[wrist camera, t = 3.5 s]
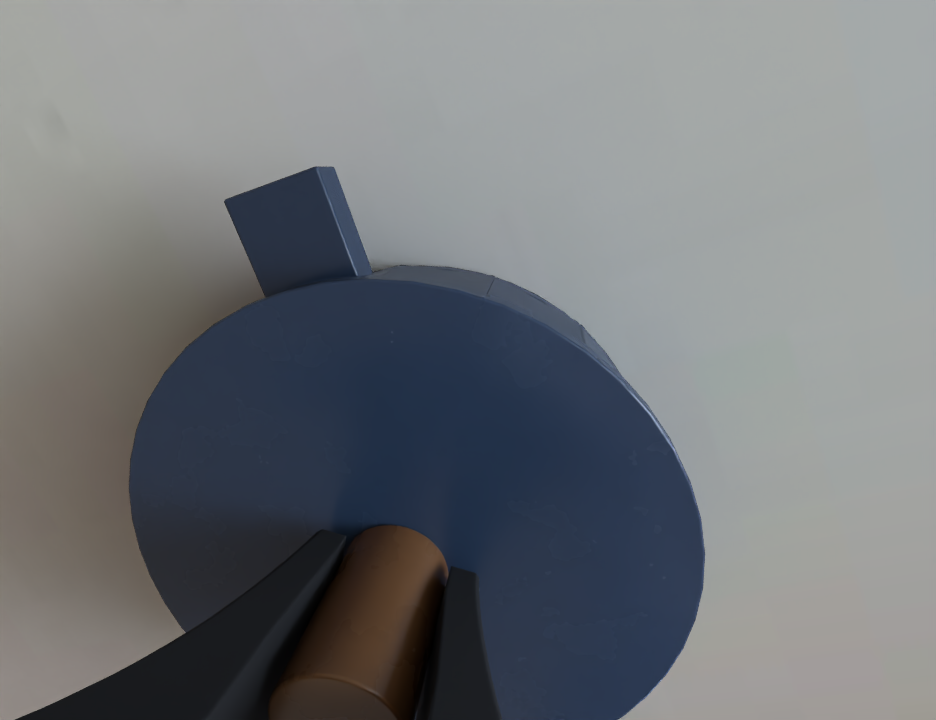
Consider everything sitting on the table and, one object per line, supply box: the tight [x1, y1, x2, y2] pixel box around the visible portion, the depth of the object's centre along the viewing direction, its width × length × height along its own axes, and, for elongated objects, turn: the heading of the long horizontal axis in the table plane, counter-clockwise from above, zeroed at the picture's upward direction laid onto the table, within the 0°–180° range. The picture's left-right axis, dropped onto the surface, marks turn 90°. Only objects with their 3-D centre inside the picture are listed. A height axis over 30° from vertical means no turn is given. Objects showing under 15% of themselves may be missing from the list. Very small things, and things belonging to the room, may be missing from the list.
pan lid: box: [129, 275, 705, 720], centre depth 11 cm, size 14×14×5 cm
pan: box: [224, 167, 620, 373], centre depth 15 cm, size 13×19×4 cm
